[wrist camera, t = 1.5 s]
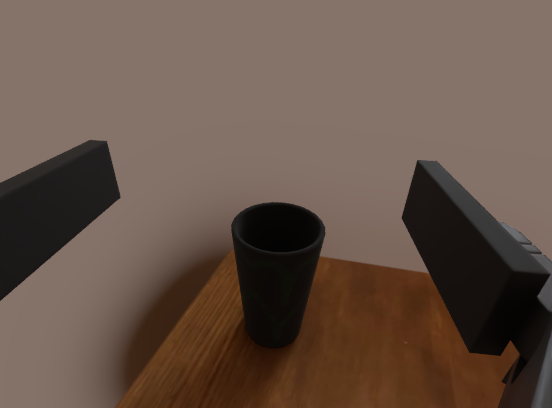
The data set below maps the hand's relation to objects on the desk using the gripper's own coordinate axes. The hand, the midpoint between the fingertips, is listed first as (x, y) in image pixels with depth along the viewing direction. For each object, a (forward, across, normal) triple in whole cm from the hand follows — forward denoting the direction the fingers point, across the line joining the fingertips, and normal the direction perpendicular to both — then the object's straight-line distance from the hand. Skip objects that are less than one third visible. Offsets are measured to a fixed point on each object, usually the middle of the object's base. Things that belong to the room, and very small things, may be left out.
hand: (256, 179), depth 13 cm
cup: (+9, 0, -20) cm, 22 cm away
